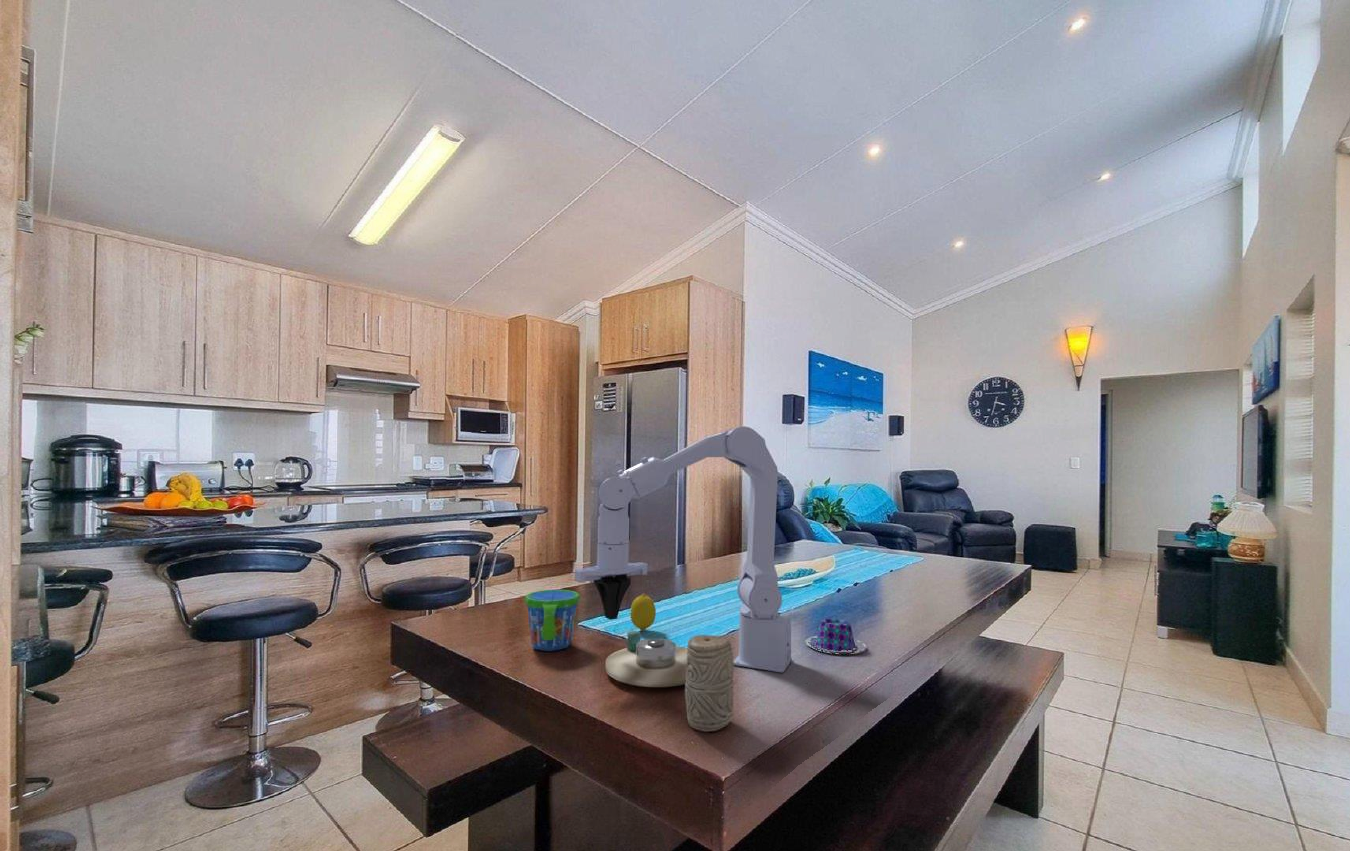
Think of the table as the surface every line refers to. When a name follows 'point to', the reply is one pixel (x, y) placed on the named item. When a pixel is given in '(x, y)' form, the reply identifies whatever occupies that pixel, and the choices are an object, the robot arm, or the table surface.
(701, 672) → the carving
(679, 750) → the table surface
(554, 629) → the snack cup
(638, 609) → the lemon
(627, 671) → the turntable
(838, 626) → the polka dot fedora
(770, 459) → the robot arm
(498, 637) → the table surface
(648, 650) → the cover
